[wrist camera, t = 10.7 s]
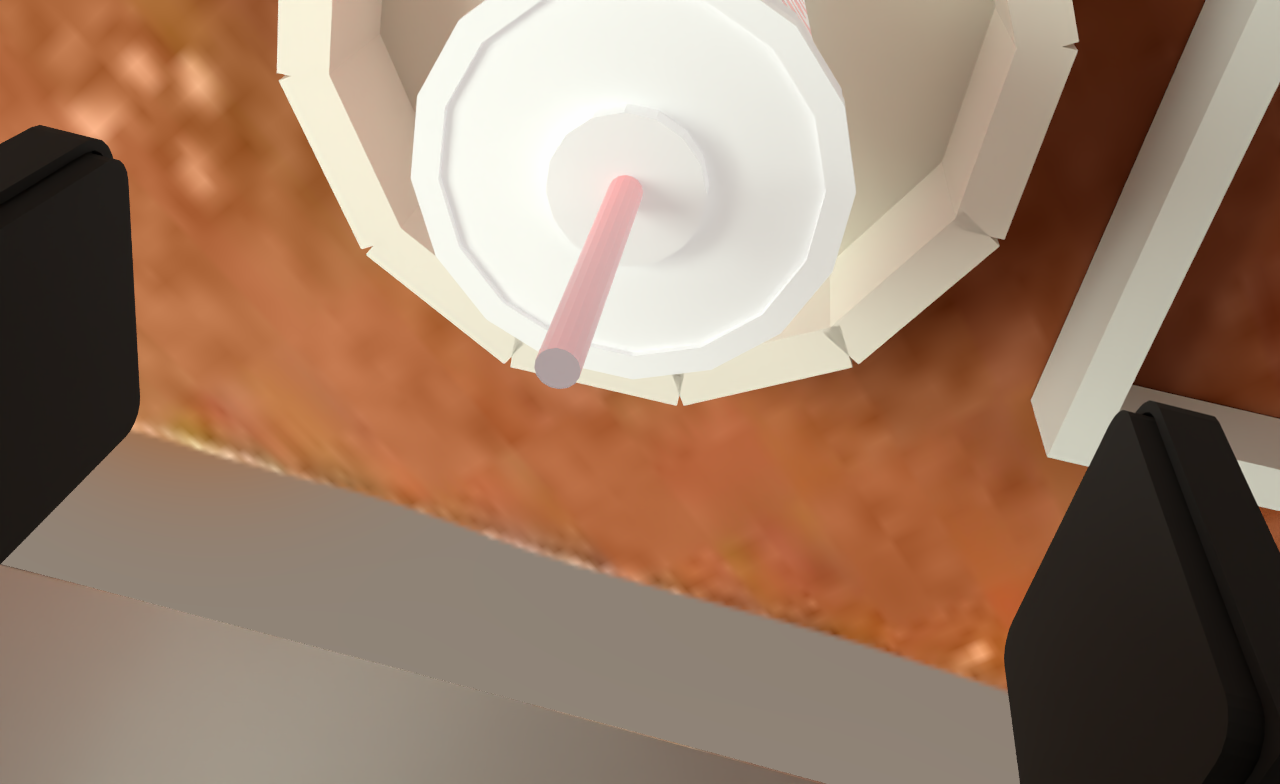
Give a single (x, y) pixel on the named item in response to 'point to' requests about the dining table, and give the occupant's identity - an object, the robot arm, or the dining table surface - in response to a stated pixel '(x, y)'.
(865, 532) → the dining table surface
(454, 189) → the beverage cup
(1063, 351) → the open square frame
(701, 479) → the dining table surface
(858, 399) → the dining table surface
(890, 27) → the bowl
